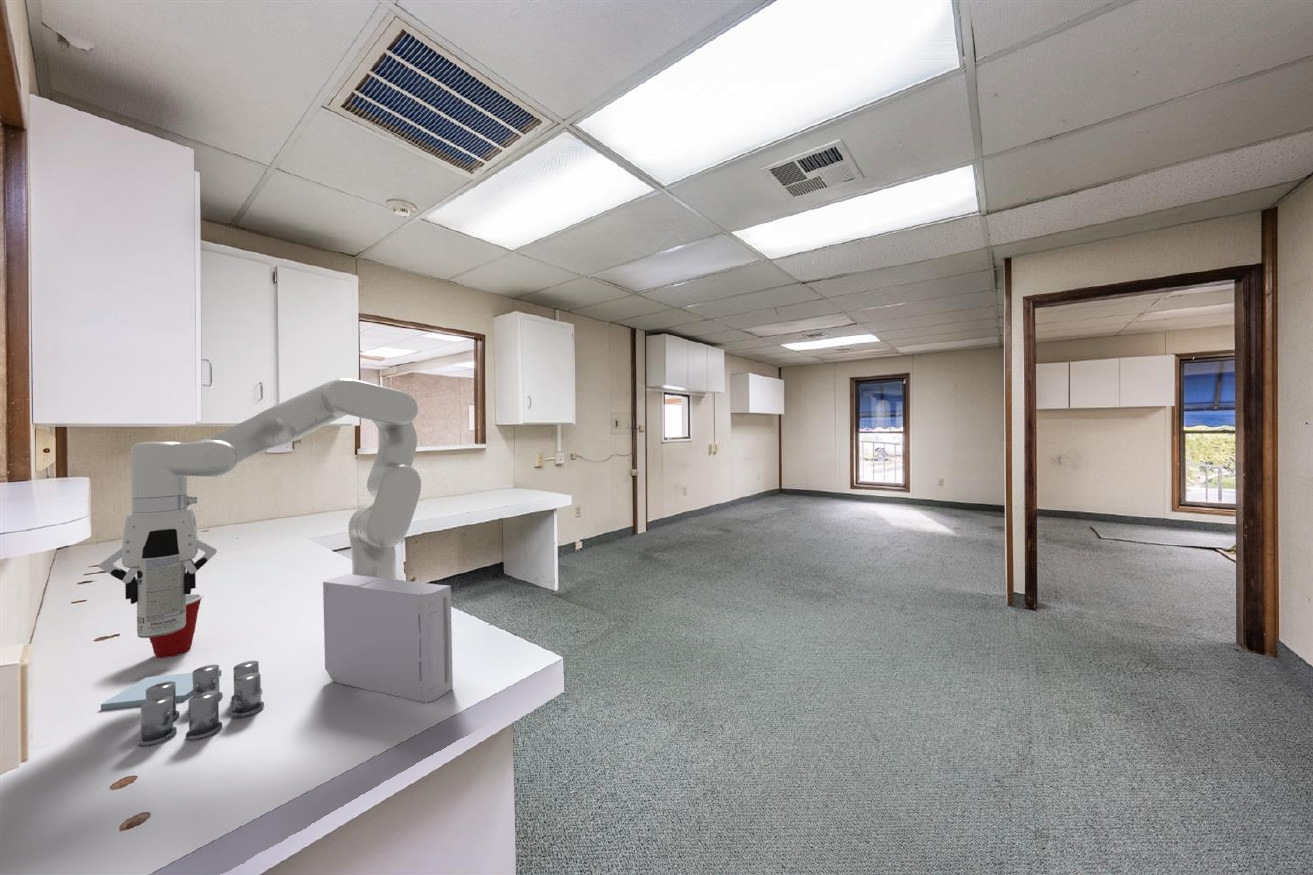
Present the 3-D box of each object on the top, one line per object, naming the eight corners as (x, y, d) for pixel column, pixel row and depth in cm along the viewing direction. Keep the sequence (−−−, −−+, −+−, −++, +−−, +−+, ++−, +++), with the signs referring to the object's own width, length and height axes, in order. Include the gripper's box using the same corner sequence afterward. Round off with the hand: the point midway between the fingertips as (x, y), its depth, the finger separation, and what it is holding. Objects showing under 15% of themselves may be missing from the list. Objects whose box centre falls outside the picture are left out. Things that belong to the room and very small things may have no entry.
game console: (429, 705, 87) (427, 595, 87) (323, 681, 97) (321, 581, 96) (453, 689, 93) (451, 585, 92) (351, 667, 102) (349, 573, 102)
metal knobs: (286, 687, 94) (285, 656, 94) (233, 735, 79) (232, 699, 79) (181, 698, 91) (180, 667, 91) (105, 752, 76) (104, 713, 75)
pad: (221, 674, 100) (221, 669, 100) (185, 700, 90) (185, 694, 90) (146, 682, 97) (146, 677, 97) (100, 709, 88) (100, 704, 88)
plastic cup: (155, 647, 114) (153, 596, 114) (213, 639, 118) (212, 590, 118) (125, 667, 104) (123, 612, 104) (190, 658, 108) (188, 604, 108)
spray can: (160, 625, 97) (158, 525, 97) (196, 623, 97) (194, 524, 97) (126, 639, 90) (124, 532, 90) (165, 637, 91) (163, 531, 91)
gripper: (220, 499, 102) (222, 583, 102) (96, 508, 91) (98, 603, 91) (220, 502, 97) (222, 591, 97) (87, 512, 85) (89, 614, 85)
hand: (162, 596), depth 94 cm, fingers closed on spray can, 6 cm apart
